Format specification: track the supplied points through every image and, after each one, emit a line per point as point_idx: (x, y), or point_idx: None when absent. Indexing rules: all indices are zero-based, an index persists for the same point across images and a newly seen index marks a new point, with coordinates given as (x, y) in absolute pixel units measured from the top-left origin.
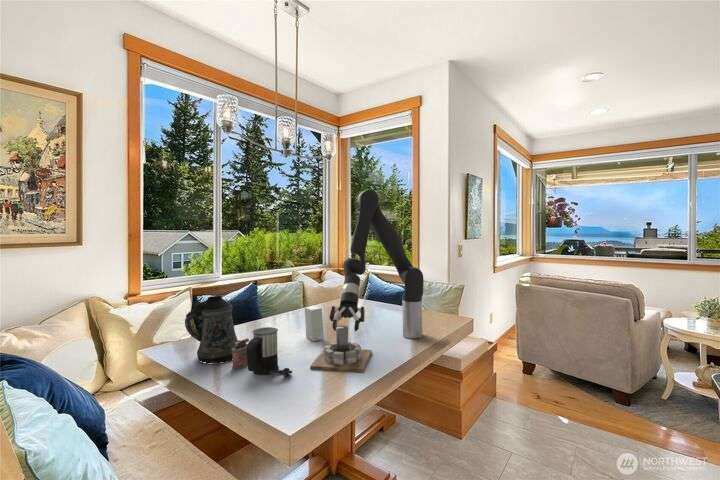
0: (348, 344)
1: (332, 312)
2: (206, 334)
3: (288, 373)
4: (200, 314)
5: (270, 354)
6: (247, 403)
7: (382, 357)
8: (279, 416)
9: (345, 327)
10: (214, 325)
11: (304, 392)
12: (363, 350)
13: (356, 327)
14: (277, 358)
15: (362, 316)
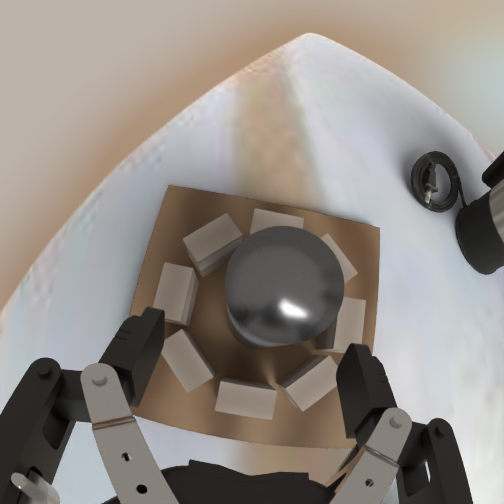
0: (228, 381)
1: (449, 483)
2: None
3: (414, 165)
4: None
5: (494, 187)
6: (418, 98)
7: (76, 338)
8: (346, 57)
9: (250, 268)
10: None
11: (337, 104)
12: (150, 405)
13: (140, 321)
14: (480, 228)
15: (32, 383)
